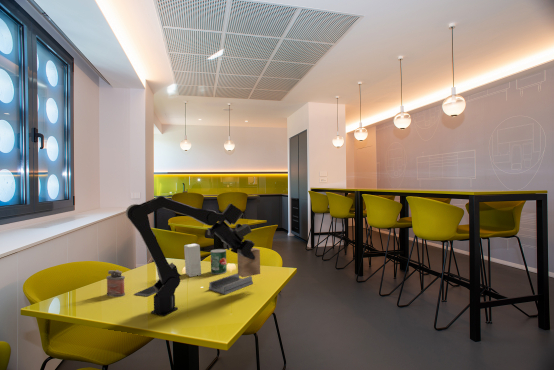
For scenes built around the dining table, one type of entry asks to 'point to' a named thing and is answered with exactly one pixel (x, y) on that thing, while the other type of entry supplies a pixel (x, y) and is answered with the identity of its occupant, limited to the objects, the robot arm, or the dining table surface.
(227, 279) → the door track
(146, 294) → the cell phone
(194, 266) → the skincare box
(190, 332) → the dining table surface
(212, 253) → the canned tomato
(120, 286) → the lighter
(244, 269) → the brown wooden block
